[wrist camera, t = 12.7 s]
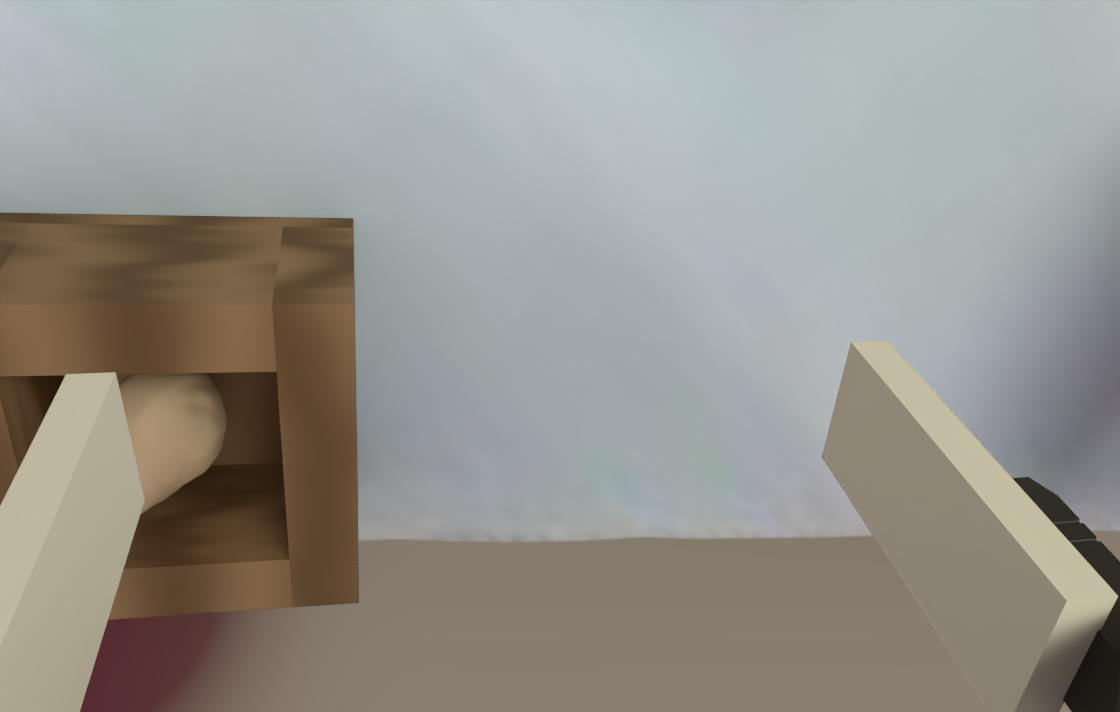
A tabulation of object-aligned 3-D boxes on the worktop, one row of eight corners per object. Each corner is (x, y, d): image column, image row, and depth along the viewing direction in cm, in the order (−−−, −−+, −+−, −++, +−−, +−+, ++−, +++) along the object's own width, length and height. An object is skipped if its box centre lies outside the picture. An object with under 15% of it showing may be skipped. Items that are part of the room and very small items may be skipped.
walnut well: (353, 218, 42) (354, 304, 36) (357, 492, 51) (358, 602, 44) (-41, 212, 39) (-120, 305, 32) (33, 506, 47) (-18, 628, 41)
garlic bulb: (62, 349, 42) (8, 460, 36) (205, 318, 43) (178, 422, 36) (121, 460, 46) (83, 580, 39) (252, 431, 46) (236, 543, 40)
